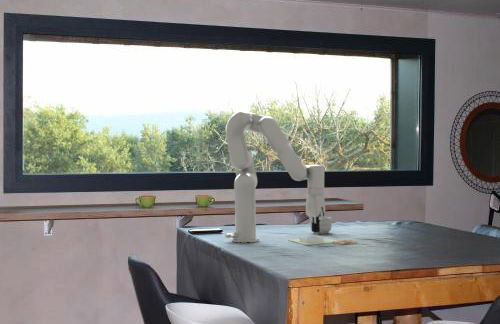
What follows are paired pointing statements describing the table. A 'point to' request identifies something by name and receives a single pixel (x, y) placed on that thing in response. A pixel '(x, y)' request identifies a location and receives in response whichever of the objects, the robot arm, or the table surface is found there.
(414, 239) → the table surface
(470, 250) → the table surface
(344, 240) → the holder
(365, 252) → the table surface
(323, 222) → the teacup
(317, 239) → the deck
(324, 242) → the mat
